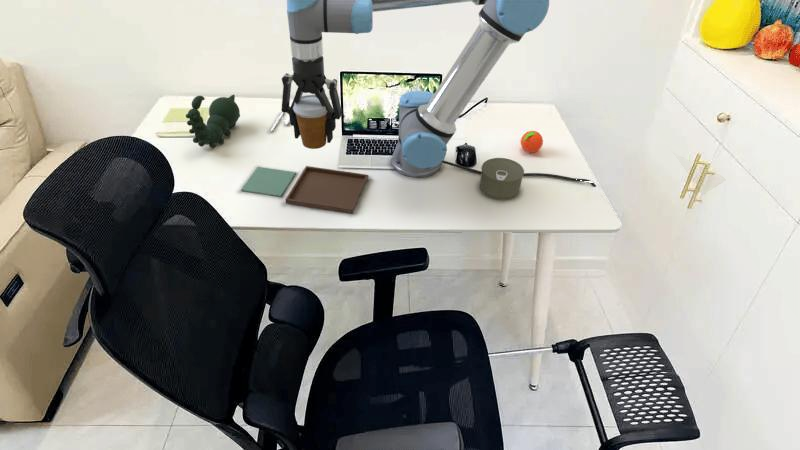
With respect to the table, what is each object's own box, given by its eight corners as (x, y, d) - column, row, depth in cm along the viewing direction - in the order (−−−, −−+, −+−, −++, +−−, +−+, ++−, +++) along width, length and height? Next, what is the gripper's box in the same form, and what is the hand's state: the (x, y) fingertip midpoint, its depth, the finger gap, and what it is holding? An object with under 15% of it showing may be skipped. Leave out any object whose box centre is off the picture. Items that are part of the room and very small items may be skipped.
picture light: (282, 112, 189) (281, 106, 188) (294, 113, 189) (294, 108, 188) (270, 132, 179) (269, 126, 177) (282, 133, 178) (282, 127, 177)
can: (522, 181, 161) (526, 161, 156) (517, 204, 152) (521, 184, 148) (482, 173, 163) (485, 154, 159) (475, 196, 154) (478, 176, 150)
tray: (368, 178, 160) (368, 174, 159) (352, 214, 147) (352, 209, 146) (306, 170, 162) (306, 165, 161) (285, 203, 149) (285, 199, 148)
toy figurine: (217, 161, 167) (251, 117, 184) (202, 109, 154) (240, 67, 171) (190, 157, 169) (226, 114, 186) (172, 104, 155) (213, 63, 173)
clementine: (527, 160, 170) (532, 140, 165) (512, 150, 174) (515, 131, 170) (545, 152, 174) (549, 133, 169) (529, 143, 178) (533, 124, 173)
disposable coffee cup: (293, 136, 147) (289, 95, 139) (328, 132, 150) (325, 92, 142) (299, 154, 140) (295, 113, 133) (335, 149, 143) (333, 108, 135)
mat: (296, 173, 161) (295, 172, 160) (281, 197, 151) (280, 195, 151) (258, 168, 162) (257, 166, 162) (241, 191, 153) (240, 189, 153)
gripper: (354, 54, 131) (355, 136, 145) (271, 45, 134) (281, 126, 148) (345, 67, 125) (348, 150, 140) (259, 57, 128) (271, 140, 142)
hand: (313, 138), depth 144 cm, fingers closed on disposable coffee cup, 8 cm apart
